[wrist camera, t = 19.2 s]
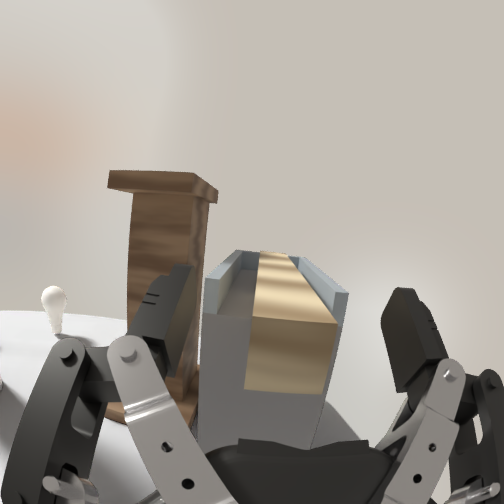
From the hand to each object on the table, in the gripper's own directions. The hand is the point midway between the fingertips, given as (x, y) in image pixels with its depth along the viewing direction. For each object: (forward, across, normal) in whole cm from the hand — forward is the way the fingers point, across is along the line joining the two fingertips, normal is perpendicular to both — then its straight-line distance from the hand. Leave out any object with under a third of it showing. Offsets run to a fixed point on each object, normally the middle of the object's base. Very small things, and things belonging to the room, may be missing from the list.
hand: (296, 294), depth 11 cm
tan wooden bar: (+9, 0, +10) cm, 13 cm away
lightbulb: (+18, +44, +40) cm, 62 cm away
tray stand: (+4, 0, +31) cm, 31 cm away
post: (+10, +14, +34) cm, 38 cm away
